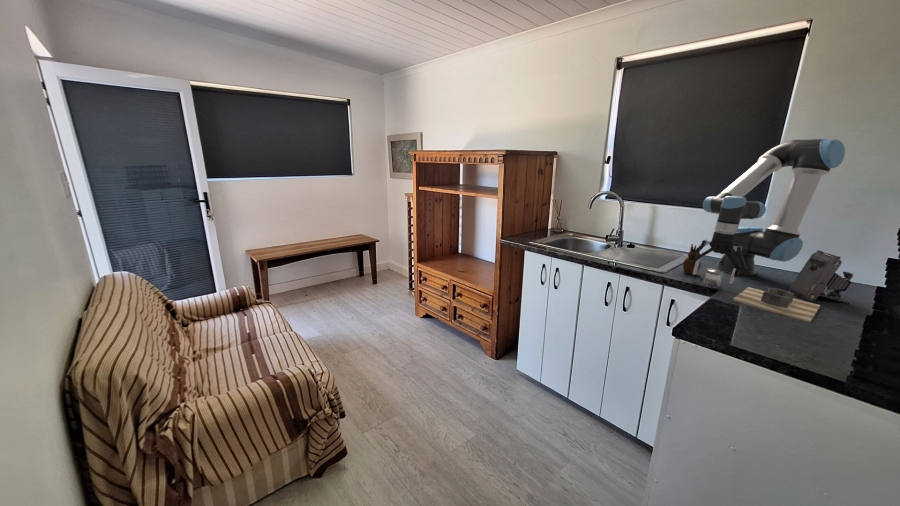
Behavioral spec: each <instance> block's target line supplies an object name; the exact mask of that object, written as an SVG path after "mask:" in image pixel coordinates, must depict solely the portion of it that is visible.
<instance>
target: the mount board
mask: <svg viewBox="0 0 900 506" xmlns="http://www.w3.org/2000/svg"><path fill="white" fill-rule="evenodd" d="M763 292H767V291H765V290H761V289H757V288H753V287H749V286H748V287H746V288H745V289H744V290H743V291H741V292H740V293H739V294H738V295H736V296H734V297H733V298H732V301H733V302H737V303H740V304H743V305H747V306H751V307H754V308H757V309H760V310H763V311H768V312H771V313H775V314H779V315H782V316H786V317H789V318H794V319H797V320H800V321H804V322H807V323H811V322H812V320H813V318H814V317H815V316H816V313H817V312H818V310H819V309H820V307H821V304H818V303H817V304H816V303H813V302H811V301H807V300H806V301H804V300H802V299H797V298H794V297H793V300H792V303H789V305H788V308H784V307H778V306H774V305H770V304H767V303H765V302H762V301H761V299H762V295H763Z"/></svg>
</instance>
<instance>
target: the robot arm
mask: <svg viewBox="0 0 900 506" xmlns="http://www.w3.org/2000/svg"><path fill="white" fill-rule="evenodd" d="M845 154H846V148H845V145H844V143H843V142H842V140H840V139H835V138H815V139H811V138H810V139H793V140H789V141H785V142H783V143H780V144H778V145H776V146H773V147H772V148H770V149H769V150H767V151H766V152H764V153H763V154H762V155H760V156H759V158H758V159H757V162H756V163H755V164H753V165H752V166H751V167H750V168H749V169H748V170H746V171H745V172H744V173H743V174H742V175H740V176H739V177H738V178H737V179H735V181H733V182H732V183H731V184H729V185H728V186H727V187H726V188H725V189H723V191H721V192H720V193H719V194H718V195H716V196H707V197H706V198H705V199H704V200H703V203H702V209H703V211H704V212H706V213H711V214H715V215H716V214H717V215H718V217H717V220H716V223H715V227H714V232H713V234H712V239H711V241H710V240H708V239H704V240H702V241H701V244H700V245H699V246H698V248H697V247H696V250H695V251H694V252H693V253H692V254H691V255H690V256H689V257H690V258H692V259H693V264H692V267H694V270H693V274H692V275H697V273H698V272H697V270H698V266H699V262H701V260H700V259H701V258H703V257H705V256H706V255H708V254H709V253H712V252H713V253H715V254H721V255H722V257H721V258H720V259H719V261H718V262H717V264H716V269H717V270H721V271H723V272H724V273H729V274H731V275H730V278H729V282H728V284H730V285H732V284H733V283H734V281H735V278H738V277H739V275H740V276H753V275H755V273H756V264H755V257H756V256H758V257H761V258H764V259H769V260H772V261H777V262H778V261H779V262H783V263H784V262H790V261H791V260H792V259H794V258H796V256H798V255H799V254H800V253H801V250H802V249H803V244H804V241H803V239H801V238H800V236H801V233H800V232H799V230H798V229H799V228H800V225H801V223H802V221H803V218H804V217H805V214H806V212H807V209H808V207H809V205H810V203H811V201H812V199H813V196H814V195H815V192H816V190H817V188H818V186H819V183H820V181H821V179H822V177H824V176H825V175H828V174H829V173H830V171H831V169H834V168H837V167H839V166H840V165H841V164H842V162H843V160H844V159H845ZM785 167H786V168H787V167H791V170H792V172H793V176H792V178H791V180H790V183H789V184H788V187H787V189H786V191H785V192H786V193H785V195H784V197H783V199H782V201H781V204H780V206H779V208H778V211H777V213H776V215H775V217H774V219H773V222H772V224H771V225H770V226H767V227H766V228H765V230H764V228H763V227H760V226H746V225H745V226H743V225H742V226H741V225H740V222H741V220H743V219H744V220H754V219H759V218H762V217H763V216H764V215H765V213H766V211H767V208H766V205H765V204H764V203H763V202H761V201H755V200H747V198H746V197H745V196H746V195H747V194H748V193H749V192H751V191H752V190H753V189H754V188H755V187H757V185H759V184H760V183H761V182H763V181H764V180H765V179H767V177H769V176H770V175H771V174H772V173H774V172H775V173H776V172H778V171H779V170H781V169H782V168H785ZM708 245H709V247H710V248H709V249H707V250H705V251H704V252H701V251H702V250H703V248H704V247H706V246H708ZM699 251H700V252H701V253H700V255H698V256H697V257H696V256H695V255H696V254H697V253H698V252H699ZM689 257H688V258H689ZM698 271H699V270H698Z"/></svg>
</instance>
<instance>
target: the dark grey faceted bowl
mask: <svg viewBox="0 0 900 506" xmlns="http://www.w3.org/2000/svg"><path fill="white" fill-rule="evenodd" d="M795 296H796V295H795V294H794V293H791V292H790V291H789V290H786V289H780V288H778V287H777V288H776V287H769V286H768V287H767V291H766V292H763V295H762V299H761V301H762V302H765V303H767V304H770V305H774V306H778V307H784V308H788V305H789V303H792V300H793V298H794V297H795Z"/></svg>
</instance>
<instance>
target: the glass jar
mask: <svg viewBox="0 0 900 506" xmlns="http://www.w3.org/2000/svg"><path fill="white" fill-rule="evenodd" d="M724 274H725V271H722V270H720V269H718V268H712V267H711V268H705V273H704V277H703V282H702V285H703V284H705V285H708V286H711V287H710V288H712V287H716V288H715V289H719V288H720V285H721V282H722V279H723V276H724ZM705 285H704V286H705ZM708 286H707V287H708Z"/></svg>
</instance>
